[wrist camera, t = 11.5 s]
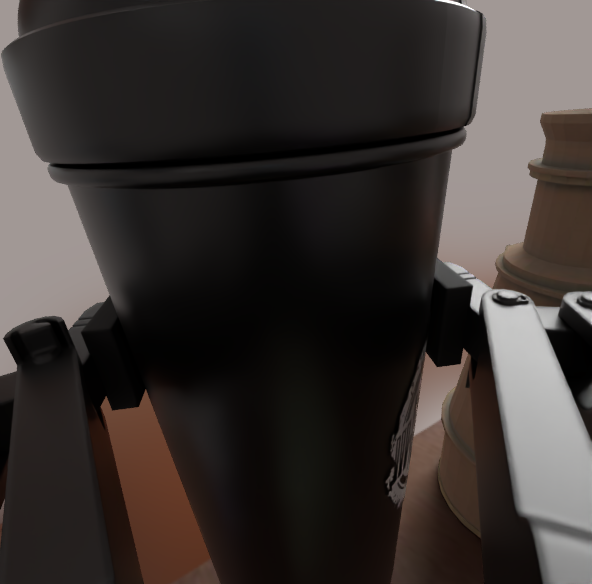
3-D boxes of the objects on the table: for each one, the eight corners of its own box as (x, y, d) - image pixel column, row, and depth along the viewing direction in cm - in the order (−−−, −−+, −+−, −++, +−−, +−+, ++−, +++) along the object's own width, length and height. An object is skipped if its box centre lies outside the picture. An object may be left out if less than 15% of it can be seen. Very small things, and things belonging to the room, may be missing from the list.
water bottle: (441, 696, 12) (839, -773, 2) (161, 669, 14) (-436, -373, 3) (395, 450, 21) (431, -62, 11) (229, 446, 23) (124, -21, 12)
